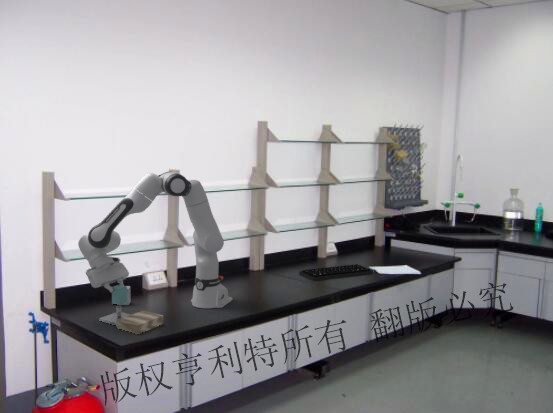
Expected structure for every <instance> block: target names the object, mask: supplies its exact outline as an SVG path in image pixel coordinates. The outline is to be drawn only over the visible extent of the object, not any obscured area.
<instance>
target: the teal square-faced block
mask: <svg viewBox="0 0 553 413" xmlns="http://www.w3.org/2000/svg"><path fill="white" fill-rule="evenodd" d="M123 285H124V284H123ZM123 285H120V284H117V285H113V286H112V287H114V289H115V291H114V292H111V304H112V305H113V304H117V305H116V306H122V305H121V304H124V303H127V286H128V285H124V286H123Z"/></svg>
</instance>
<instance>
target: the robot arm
mask: <svg viewBox="0 0 553 413" xmlns="http://www.w3.org/2000/svg"><path fill="white" fill-rule="evenodd" d="M162 193H165V194H167V195H169V196H172V197H182V199H183V200H184V204H185V208H186V211H187V214H188V217H189V220H190V222H191V225H192V226H193V229H194V230H193V234H192V238H193V245H194V253H195V255H194V256H195V263H196V264H195V266H196V267H195V268H196V269H195V277H194V284H195V285H194V286H193V291H192V298H191V299H190V302H191V304H192V306H193V307H195V308H199V309H222V308H224V307H225V306H226V305H227V304H230V303H231V302H232V301H233V297H231V296H229V291H228V288H227V287H226V286H224V285H223V284H222V283H221V281H223V280H224V276H223V275H219V263H220V262H219V258H218V255H217V254H218V252H219V251H221V250H222V249H223V247H224V245H225V241H224V240H225V239H224V238H223V236H222V233H221V230H220V228H219V226H218V223H217V221H216V219H215V217H214V215H213V212H212V209H211V205H210V202H209V199H208V196H207V194H206V191H205V188H204V186H203V185H202V182H200V180H197V179H190V180H189V179H187V178H186V177H185V176H184V175H182V174H181V173H178V172H176V171H166V172H163V173H161V174H159V175H158V174H155V173H153V172H149V173H148V172H147V173H146V174H145V175H143V176H142V177H141V178H140V179H139V180H138V181H137V182H136V183H135V184H134V186H133V187H132V188H131V189H130V191H129V192H128V193H127V194H126V195H125V197H124V198H122V200H120V201H119V202H118V203H116V205H115V207H113V209H112V210H111V211H110V212H108V214H107V215H106V217H105V218H103V219H102V221H101V222H99V223H97V224H95V225H94V226H92V227H91V229H90V230H89V232H87V233H85V234H83V235H82V236H81V237H80V238H79V239H78V243H77V246H78V248H79V250H80V252H81V255H82V256H83V257H84V258H85V260H87V262H88V265H89V267H90V268H87V269H86V270H85V275H86V277H87V280H88V282H89V284H90V285H91V287H92V288H94V289H97V288H100V287H104V289H106V290H108V292H109V293H112V292H114V291H115V289H114V287H113V286H111V285H110V284H114V283H118V285H123V286H125V284H124V280H127V278H128V277H129V276H130V272H129V270H128V269H127V267H126V266H125V265H124V263H122V262H121V259H120V257H115V256H109V255H108V254H109V253H111V252H113V251H115V250H116V249H117V248H118V247H119V246H120V245H121V240H122V238H121V236H120V233H118V232H117V231H115V229H116V228H117V227H118V226H119V224H121V223H122V221H123V220H124V219H125V218H127V216H130V215H133V214H140V213H144V212H145V211H146V210H147V209H148V208H150V206H151V204H152V203H153V202H154V201H155V199H156V197H158V196H159V195H160V194H162Z"/></svg>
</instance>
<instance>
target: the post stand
mask: <svg viewBox="0 0 553 413" xmlns="http://www.w3.org/2000/svg"><path fill="white" fill-rule="evenodd" d="M115 308H116V312H112V313H111V314H108V315H105V316H101V317H99V318H98V322H99V321H102V322H106V323H109V324H108V325H110V324H112V325H111V326H113V325H116V326H115V327H117V320H119V319H121V318H124V317H127V316H129V315H132V314H131V313H128V312H127V313H126V312H123V311H122V305H115ZM102 322H101V323H102ZM106 323H105V324H106Z"/></svg>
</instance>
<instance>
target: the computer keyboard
mask: <svg viewBox="0 0 553 413" xmlns="http://www.w3.org/2000/svg"><path fill="white" fill-rule="evenodd" d="M298 275H299V276H300V277H304V278H306V279H308V280H310V281H312V282H316V281H325V280H334V279H335V280H336V279H344V278H351V277H359V276H360V277H361V276H369V275H374V271H373V270H372V269H370V268H369V267H365V266H364V265H361V264H358V263H355V264H353V263H352V264H347V265H346V264H345V265H336V266H335V265H334V266H329V267H327V266H326V267H318V268H316V267H315V268H309V269H302V270H300V271H299V274H298Z"/></svg>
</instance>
